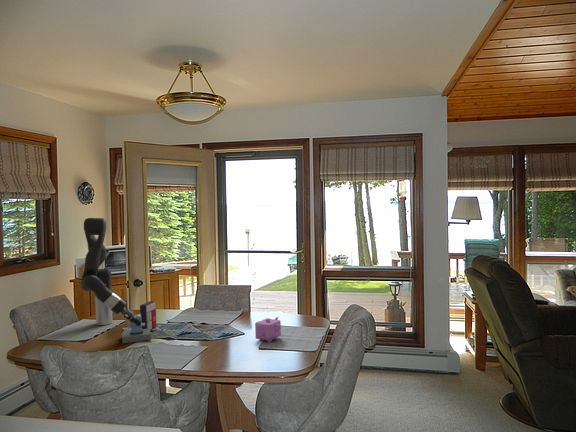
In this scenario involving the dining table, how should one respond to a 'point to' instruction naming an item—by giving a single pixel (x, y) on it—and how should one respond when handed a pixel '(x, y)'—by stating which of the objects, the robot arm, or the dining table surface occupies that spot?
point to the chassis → (136, 336)
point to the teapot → (268, 329)
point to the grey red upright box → (148, 315)
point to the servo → (133, 326)
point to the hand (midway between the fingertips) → (139, 323)
